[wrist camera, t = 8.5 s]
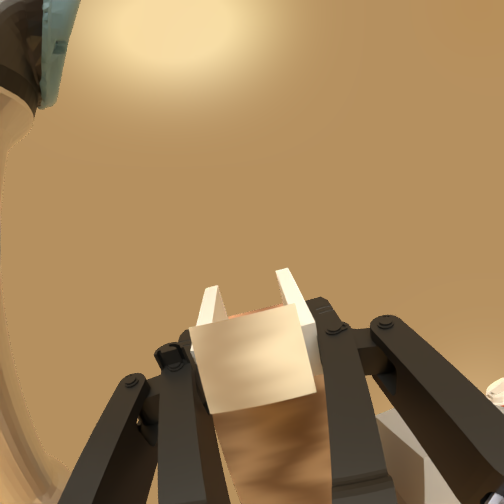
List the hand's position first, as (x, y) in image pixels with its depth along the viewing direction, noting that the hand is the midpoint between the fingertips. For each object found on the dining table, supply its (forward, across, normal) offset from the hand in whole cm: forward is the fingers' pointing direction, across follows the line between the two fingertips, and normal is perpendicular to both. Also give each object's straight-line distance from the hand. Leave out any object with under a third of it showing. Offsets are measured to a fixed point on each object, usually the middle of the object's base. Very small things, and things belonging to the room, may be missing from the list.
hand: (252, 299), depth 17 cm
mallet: (0, 0, -5) cm, 5 cm away
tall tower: (-11, 0, -35) cm, 37 cm away
